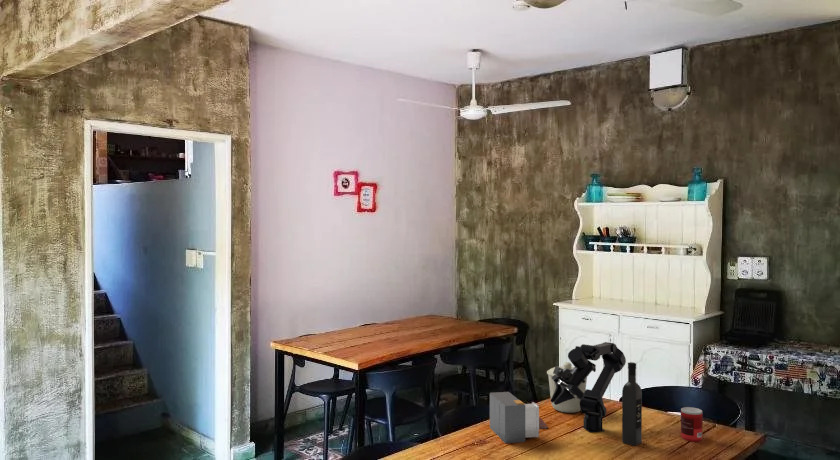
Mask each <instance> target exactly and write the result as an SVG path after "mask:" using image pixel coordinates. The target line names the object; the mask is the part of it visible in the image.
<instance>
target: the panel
mask: <svg viewBox="0 0 840 460" xmlns="http://www.w3.org/2000/svg"><path fill="white" fill-rule="evenodd" d="M524 404H525V439H526V438H539V437H540V429H539V417H540V405H538V404H537V403H536V402H534V401H531V403H524Z"/></svg>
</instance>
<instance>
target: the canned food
mask: <svg viewBox="0 0 840 460" xmlns="http://www.w3.org/2000/svg"><path fill="white" fill-rule="evenodd" d="M703 414H704V413H703V410H702V409H700V408H697V407H691V406H686V407H682V408H680V437H681V439H682V440H683V441H687V442H691V443H693V442H694V443H696V442H697V443H698V442H702V440H703V423H704V422H703V421H704V420H703V418H704V417H703Z"/></svg>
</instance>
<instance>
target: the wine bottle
mask: <svg viewBox="0 0 840 460" xmlns="http://www.w3.org/2000/svg"><path fill="white" fill-rule="evenodd" d="M627 370H628V372H627V376H628V377H627V382H626V383H624V385H623V387H622V393H621V397H622V400H621V403H622V405H621V410H622V411H621V414H622V415H621V419H622V420H621V432H622V433H621V442H622V443H624V444H627V445H630V446H633V447H635V446H638V445H640V444H641V443H643V441H642V436H643V435H642V431H643V430H642V429H643V426H642V425H643V423H642V418H643V415H642V413H643V410H642V409H643V407H642V406H643V399H642V398H643V397H642V396H643V393H642V388H641V386H640V385H639V383H638V382H637V363H636V362H632V361H631V362H627Z"/></svg>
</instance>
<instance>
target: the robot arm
mask: <svg viewBox="0 0 840 460" xmlns="http://www.w3.org/2000/svg"><path fill="white" fill-rule="evenodd" d="M567 358H568V360H569V362H570V363H571V365H572V366H573V367H574V368H573V370H572V369H567V368H564V369H562V368H560V367H561V366H557V365H555V366H554V367H555V369H554V371H553V374H556V375H554V376H553V377H552V380H553V381H554V382H555V385H556V389H555V392H554V394H553V396H552V398H551V397H550V402H551V404H552V403H553V402H554V404H555V405H557V404H560V403H562V402H565V401H567V400H570V399H573V398H575V397H574V396H575V395H576V396H577V398H578V399H580V408H581V411H580V413H581V414H583V415H584V417H583V425H582V428H583V429H584V430H586V431H587V432H588V433H595V432H596V433H597V432H600V433H601V432H605V429H604V428H603V417H604V418H605V417H606V414H607V407H606V406H605V404H604V400H603V399H604V395H605V393H606V391H607V389H608V387H609V385H610V383H611V381H612V380H613V378H614V376H615V374H616V373H618V372H619V373H620V372H621V371H622V370H623V368H624V367H625V365H626V363H627V360H626V359H627V358H626V356H625V354H624V352H623V351H622V350H621V349H619V347H618V346H617V344H615V343H614V342H608V341H607V342H606V341H605V342H601V343H598V344H594V345H593V344H592V345H590V344H584V343H583V344H581V345H580V346H579V345H576V346H575V348H573V349H571V350H570V351H569V352H568V353H567ZM600 358H602V362H603V368H602V369H601V372H600V374H599V375H598V377H597V379H596V381H595V383H594V385H593V387H592V388H591V389H589V388H586V390H585V392H584V393H583V392H582V391H581V390H580V389H579V388H578V386H579V385H580V384H581V383H585V382H586V381H585V380H584V379H585V378H586V377H587V378H588V376H589V375H590V374H591V373H592V372H594V373H595V372H596V370H597V369H596V368H597V367H596V366H597V365H596V364H595V363H593V362H591V361H598V360H599V359H600ZM586 383H587V382H586Z"/></svg>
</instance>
